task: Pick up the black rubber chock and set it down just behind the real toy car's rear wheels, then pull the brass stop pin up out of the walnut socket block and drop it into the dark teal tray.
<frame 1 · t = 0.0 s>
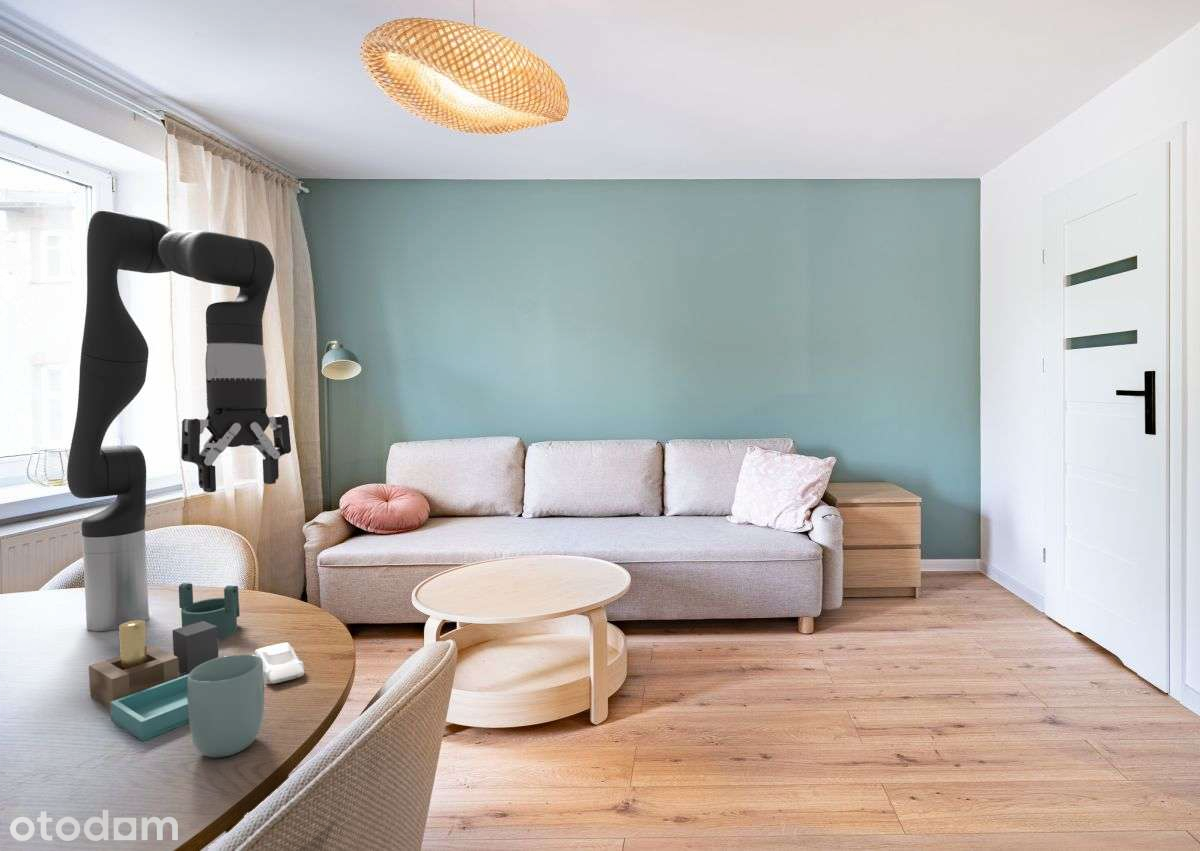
hand: (240, 487, 90), 29 cm above the table, fingers open, 8 cm apart
bracket: (212, 633, 110), on the table
socket: (135, 691, 89), on the table
toy car: (279, 673, 95), on the table
cup: (229, 749, 75), on the table
tray: (179, 709, 83), on the table
pin: (133, 657, 88), in the socket
chock: (196, 665, 97), on the table
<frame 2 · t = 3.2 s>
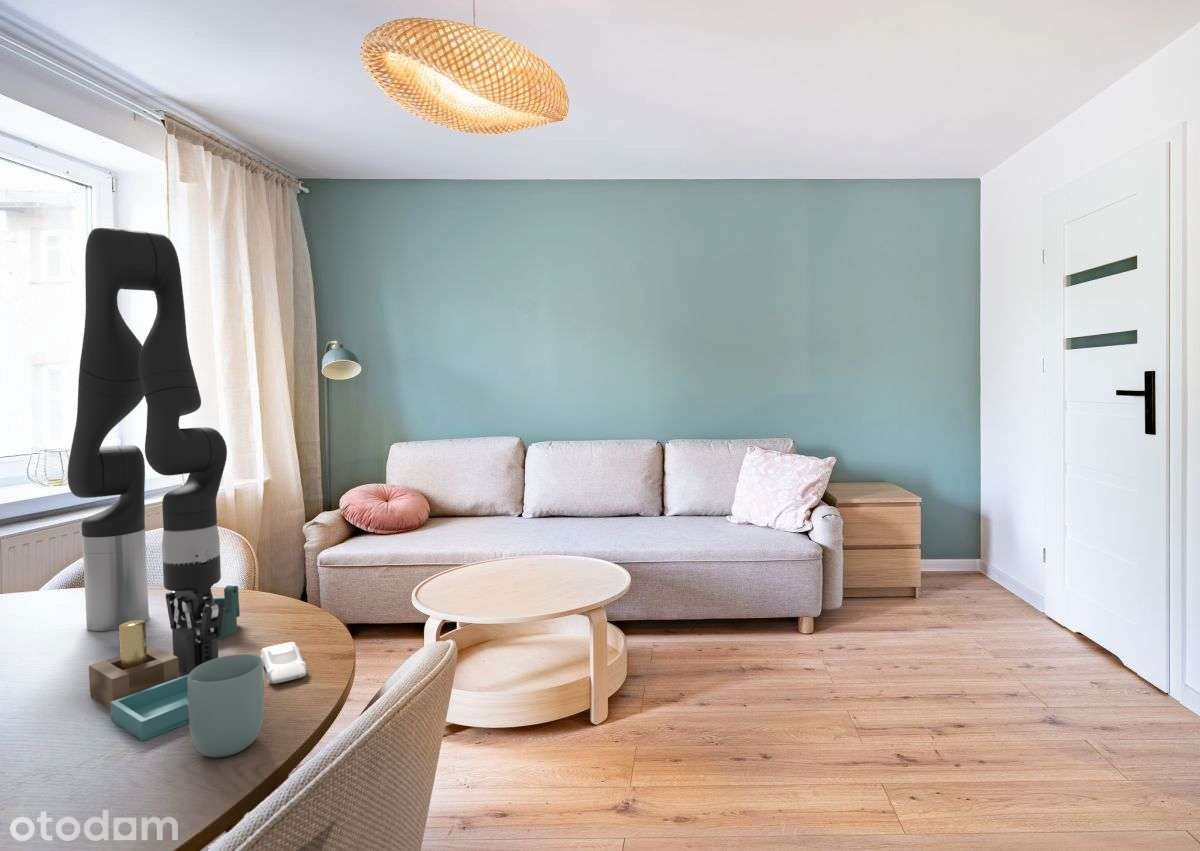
hand: (196, 660, 97), 1 cm above the table, fingers closed on chock, 4 cm apart
chock: (196, 665, 97), on the table, touching gripper
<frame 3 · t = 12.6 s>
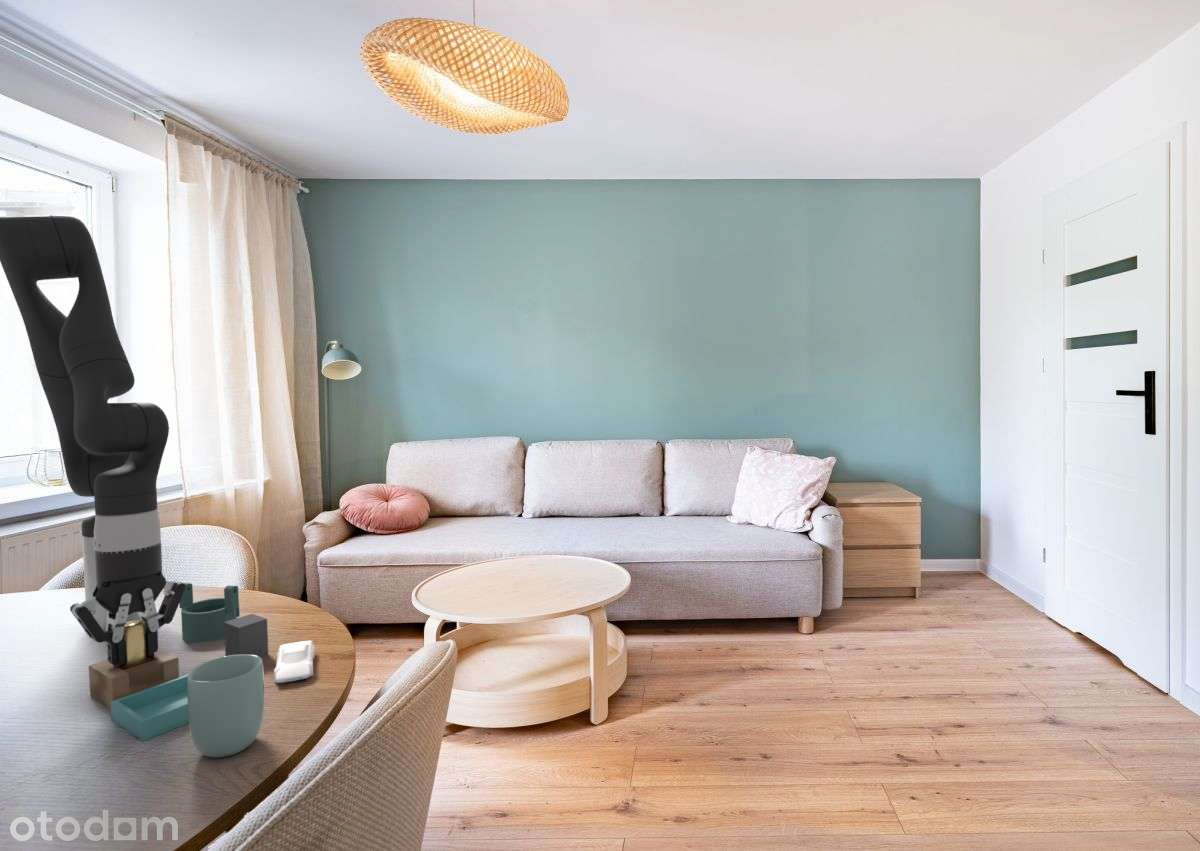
hand: (134, 660, 88), 5 cm above the table, fingers closed on pin, 3 cm apart
toy car: (295, 671, 96), on the table
pin: (133, 657, 88), in the socket, touching gripper
chock: (246, 656, 100), on the table
everything else where it was.
when the fingers open (7 cm above the table, at t = 17.5 s): pin drops 2 cm, resting on tray.
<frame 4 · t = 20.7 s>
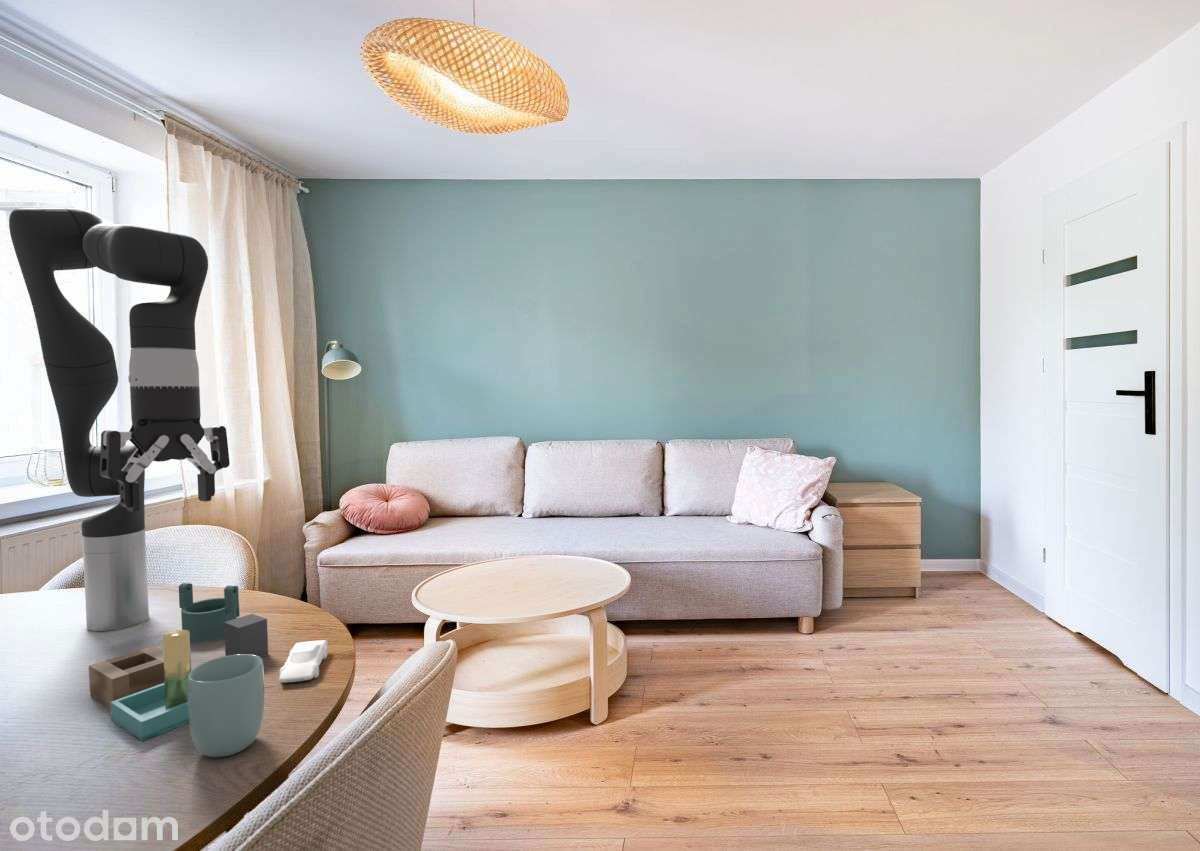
hand: (170, 505, 82), 28 cm above the table, fingers open, 8 cm apart
toy car: (304, 671, 96), on the table
pin: (177, 670, 83), in the tray
everything else where it was.
at the end: chock inside the target area (0.0 cm from its centre), on the table; pin inside the target area on the tray (0.0 cm from its centre), point 5.5 cm above the tray's base; toy car moved 3.6 cm from its start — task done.
